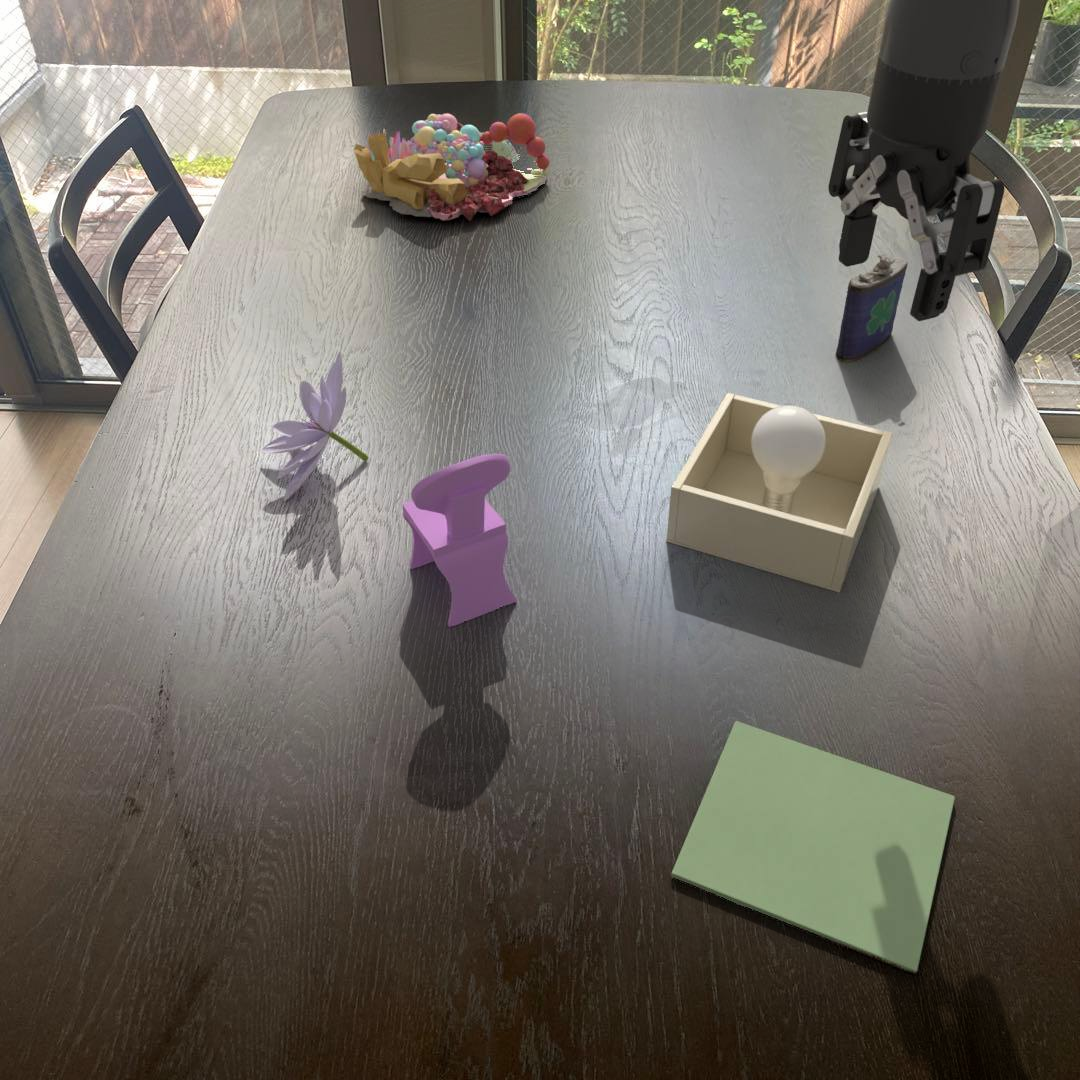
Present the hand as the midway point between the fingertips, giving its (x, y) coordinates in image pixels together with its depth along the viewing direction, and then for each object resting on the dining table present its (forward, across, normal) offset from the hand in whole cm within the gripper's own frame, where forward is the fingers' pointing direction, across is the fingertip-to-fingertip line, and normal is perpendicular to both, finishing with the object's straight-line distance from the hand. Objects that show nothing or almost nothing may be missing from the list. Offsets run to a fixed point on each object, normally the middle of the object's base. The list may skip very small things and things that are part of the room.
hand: (887, 288), depth 78 cm
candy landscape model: (+26, +85, +5) cm, 89 cm away
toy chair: (+26, +9, +31) cm, 41 cm away
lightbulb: (+26, +6, +1) cm, 27 cm away
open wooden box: (+26, +6, +1) cm, 27 cm away
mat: (+26, -24, +17) cm, 39 cm away
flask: (+26, +27, -23) cm, 44 cm away
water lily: (+26, +31, +38) cm, 56 cm away
